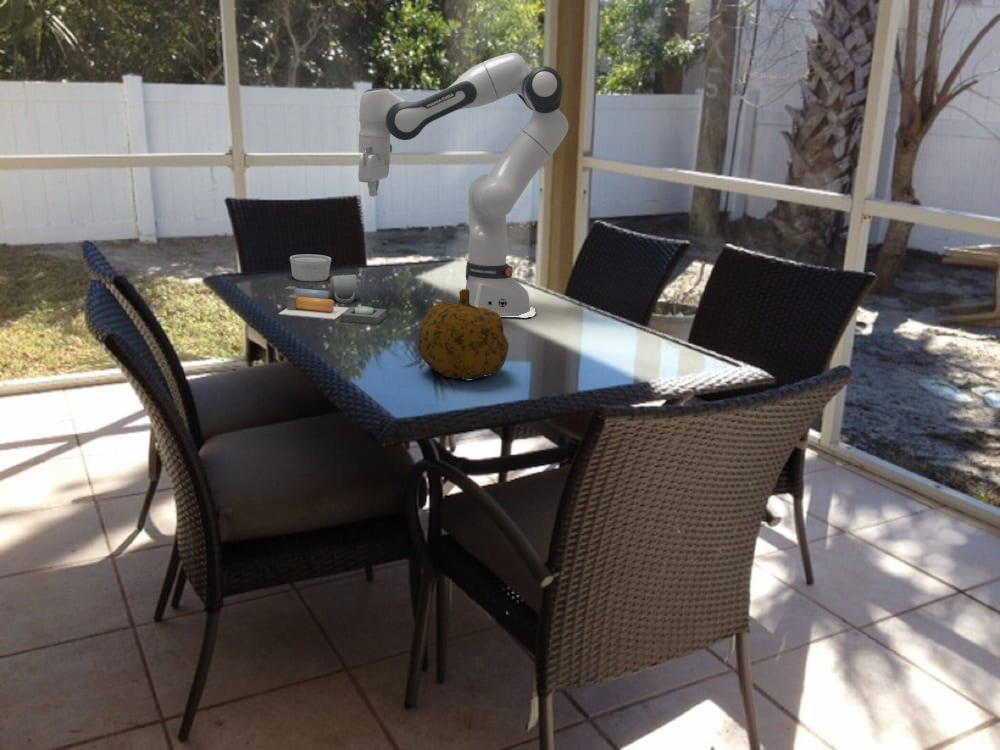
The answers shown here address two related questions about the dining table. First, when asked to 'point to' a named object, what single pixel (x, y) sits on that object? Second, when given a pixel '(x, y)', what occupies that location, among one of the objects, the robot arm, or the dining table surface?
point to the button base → (363, 316)
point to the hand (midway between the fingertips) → (373, 196)
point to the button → (364, 310)
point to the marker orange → (309, 303)
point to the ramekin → (310, 267)
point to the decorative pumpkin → (462, 339)
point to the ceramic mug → (344, 288)
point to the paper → (315, 313)
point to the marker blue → (306, 293)
